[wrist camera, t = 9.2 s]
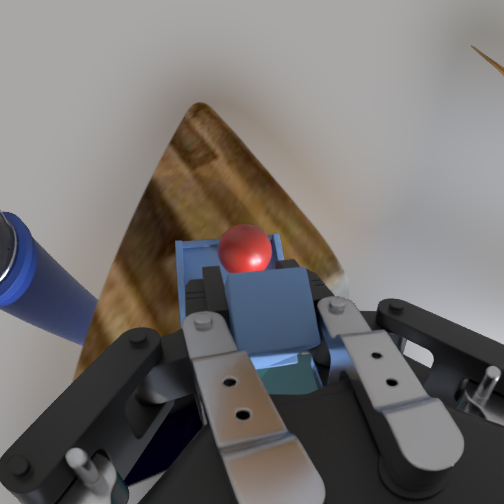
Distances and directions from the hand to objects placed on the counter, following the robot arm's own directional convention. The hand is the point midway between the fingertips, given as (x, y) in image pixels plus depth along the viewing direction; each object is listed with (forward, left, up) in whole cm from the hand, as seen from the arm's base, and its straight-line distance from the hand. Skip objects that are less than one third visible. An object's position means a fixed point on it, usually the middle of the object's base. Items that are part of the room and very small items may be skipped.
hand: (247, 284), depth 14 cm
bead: (+1, +4, -5) cm, 6 cm away
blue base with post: (0, +1, -7) cm, 7 cm away
